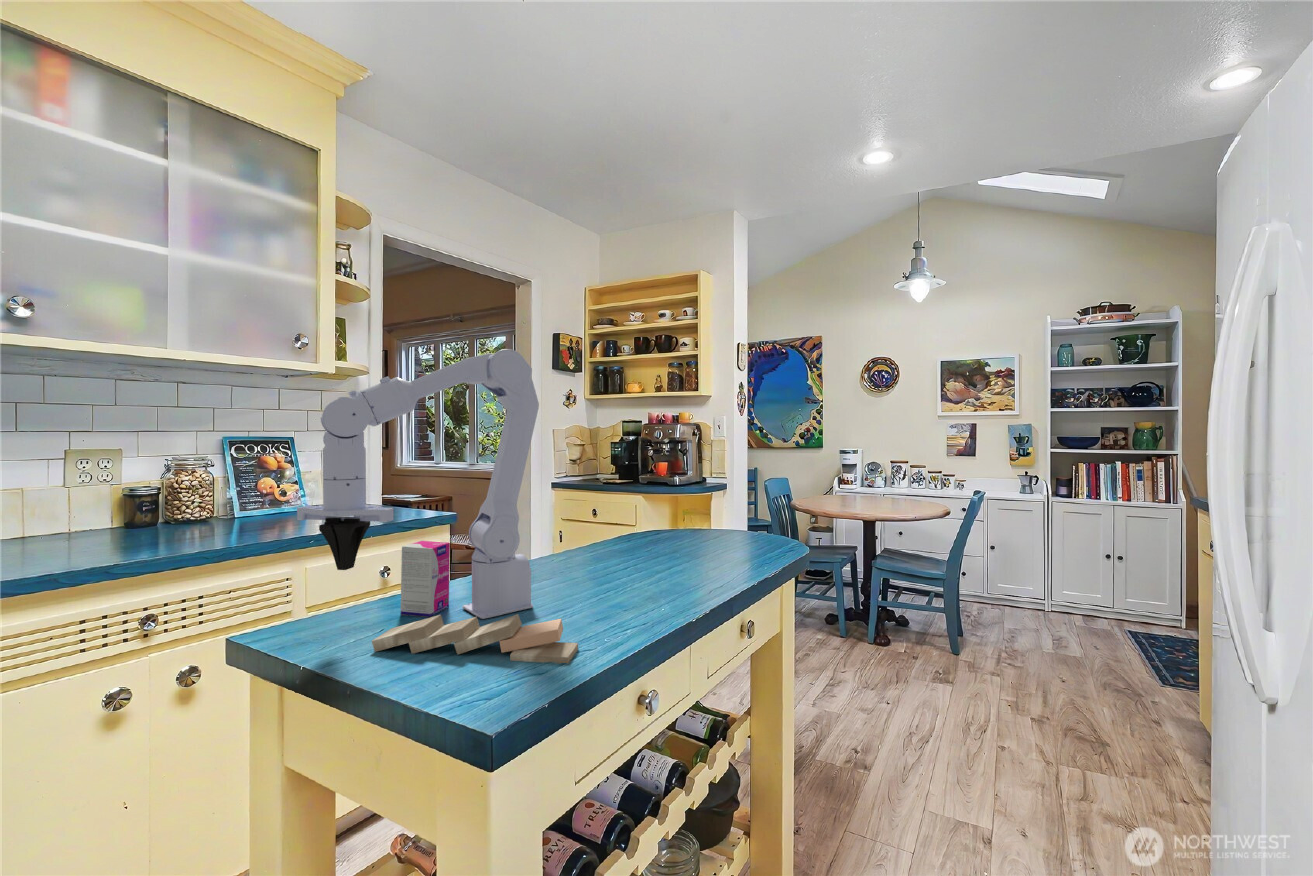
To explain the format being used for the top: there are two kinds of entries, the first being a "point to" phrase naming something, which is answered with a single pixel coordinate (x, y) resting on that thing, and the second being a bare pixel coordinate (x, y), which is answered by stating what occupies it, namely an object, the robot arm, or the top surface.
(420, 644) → the domino
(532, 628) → the domino
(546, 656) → the domino
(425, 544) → the supplement box
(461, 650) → the domino
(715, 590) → the top surface
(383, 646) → the domino
